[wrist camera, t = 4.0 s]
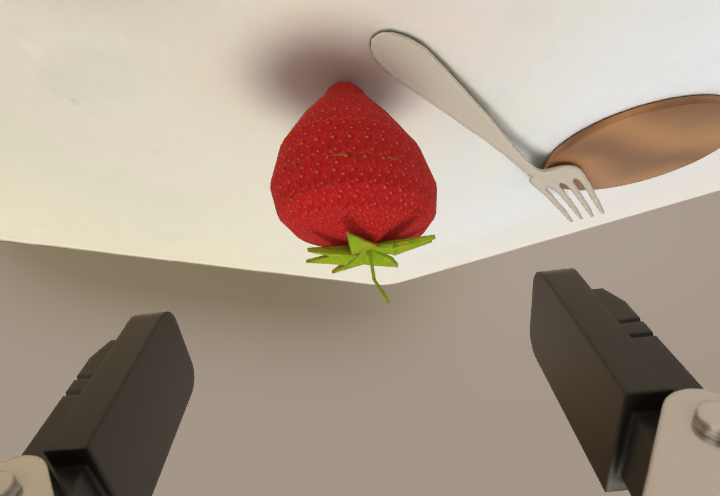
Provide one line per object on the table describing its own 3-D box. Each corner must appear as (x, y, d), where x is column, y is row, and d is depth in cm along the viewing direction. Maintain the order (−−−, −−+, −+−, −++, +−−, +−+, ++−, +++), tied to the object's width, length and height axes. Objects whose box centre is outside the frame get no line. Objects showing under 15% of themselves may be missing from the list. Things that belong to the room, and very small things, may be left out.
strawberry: (326, -2, 16) (354, 278, 14) (449, 82, 22) (488, 297, 19) (234, 83, 20) (240, 315, 17) (358, 137, 26) (378, 322, 23)
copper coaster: (607, 96, 24) (609, 105, 24) (795, 92, 26) (799, 100, 25) (517, 187, 35) (518, 193, 34) (654, 180, 36) (656, 186, 36)
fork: (409, 11, 17) (413, 52, 17) (606, 190, 35) (610, 212, 34) (345, 53, 19) (347, 91, 19) (561, 202, 37) (565, 224, 36)
